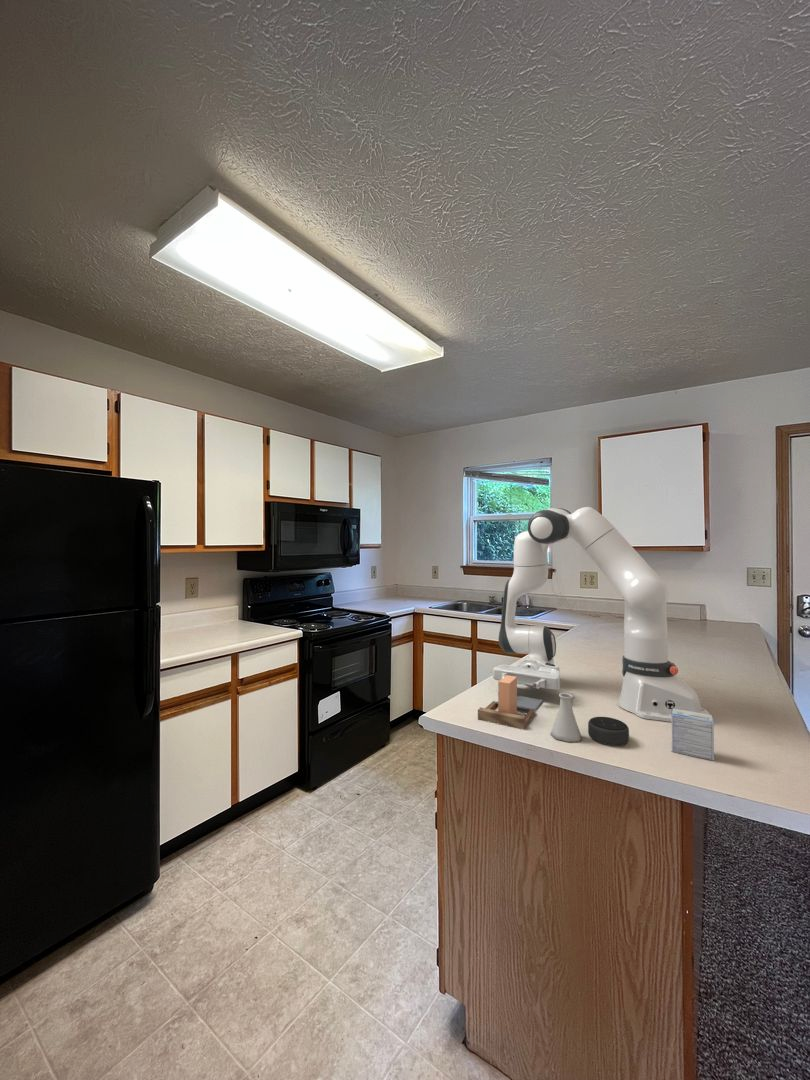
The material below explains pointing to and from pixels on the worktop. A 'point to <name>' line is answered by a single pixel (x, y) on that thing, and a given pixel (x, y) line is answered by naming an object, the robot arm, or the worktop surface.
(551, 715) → the worktop surface
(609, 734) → the smart speaker
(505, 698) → the orange rectangular block
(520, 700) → the mat
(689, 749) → the medicine box
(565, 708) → the flask
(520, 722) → the wooden square frame
